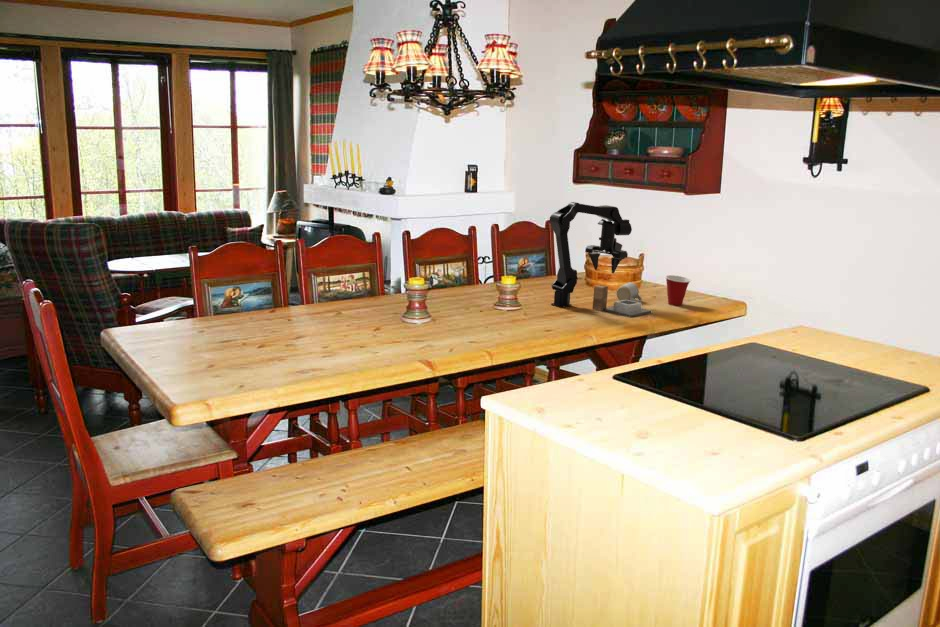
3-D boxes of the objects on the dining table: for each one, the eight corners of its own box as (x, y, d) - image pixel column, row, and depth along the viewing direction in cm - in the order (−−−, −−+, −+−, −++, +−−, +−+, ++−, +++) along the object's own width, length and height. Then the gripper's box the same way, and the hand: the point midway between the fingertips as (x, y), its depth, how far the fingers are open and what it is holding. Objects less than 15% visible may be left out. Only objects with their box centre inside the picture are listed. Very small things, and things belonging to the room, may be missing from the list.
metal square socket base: (630, 317, 309) (631, 307, 308) (603, 310, 319) (603, 301, 318) (651, 313, 318) (652, 303, 317) (624, 306, 328) (625, 297, 327)
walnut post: (599, 311, 318) (601, 287, 315) (592, 309, 321) (594, 285, 318) (606, 310, 320) (608, 286, 318) (598, 308, 323) (600, 284, 321)
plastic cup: (683, 308, 328) (686, 280, 325) (659, 304, 334) (661, 277, 331) (691, 304, 337) (694, 277, 334) (667, 300, 343) (670, 274, 340)
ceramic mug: (614, 300, 339) (616, 283, 337) (622, 297, 345) (624, 281, 343) (636, 305, 333) (638, 287, 331) (644, 302, 339) (646, 285, 337)
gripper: (637, 237, 327) (633, 273, 330) (602, 231, 340) (598, 266, 344) (621, 238, 319) (617, 275, 323) (586, 233, 333) (582, 268, 336)
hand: (604, 271), depth 332 cm, fingers open, 9 cm apart
